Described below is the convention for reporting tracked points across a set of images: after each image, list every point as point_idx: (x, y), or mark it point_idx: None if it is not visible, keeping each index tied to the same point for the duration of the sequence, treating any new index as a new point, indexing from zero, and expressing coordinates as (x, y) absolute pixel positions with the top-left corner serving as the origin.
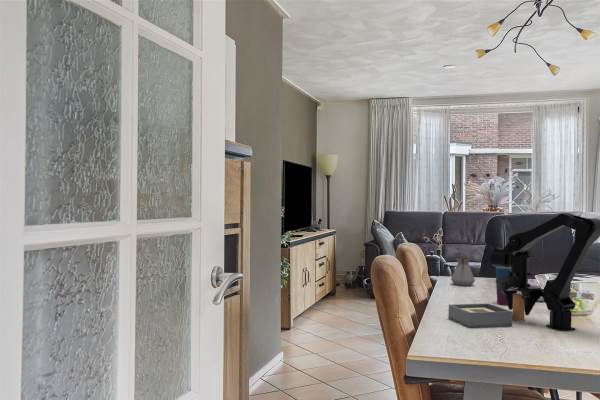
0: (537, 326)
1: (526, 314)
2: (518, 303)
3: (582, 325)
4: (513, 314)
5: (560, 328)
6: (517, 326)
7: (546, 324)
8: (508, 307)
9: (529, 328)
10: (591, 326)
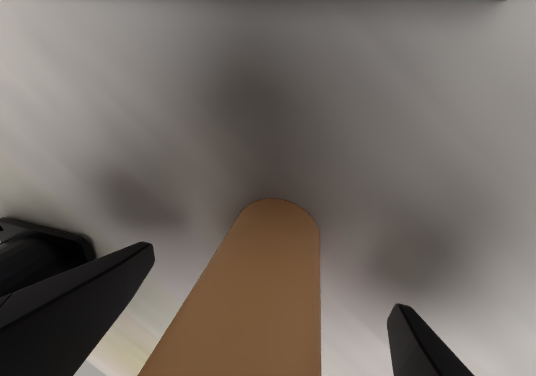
0: (83, 192)
1: (135, 246)
2: (159, 350)
3: (120, 364)
4: (276, 223)
5: (6, 236)
6: (62, 37)
7: (81, 246)
8: (426, 324)
9: (19, 91)
10: (107, 371)
